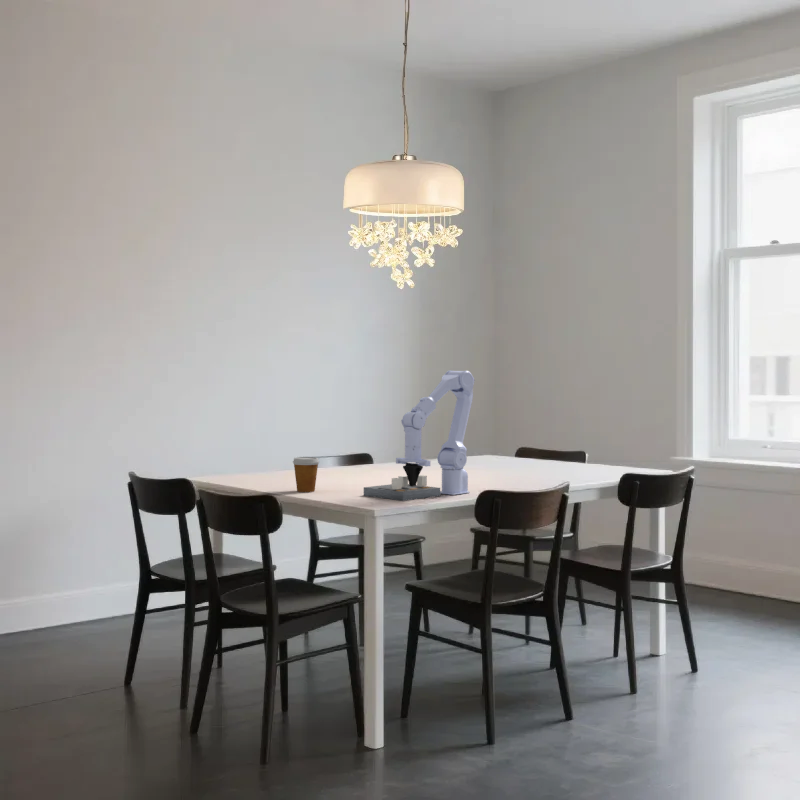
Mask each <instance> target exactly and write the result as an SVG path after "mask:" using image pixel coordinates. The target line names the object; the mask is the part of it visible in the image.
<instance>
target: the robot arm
mask: <svg viewBox="0 0 800 800" xmlns="http://www.w3.org/2000/svg"><path fill="white" fill-rule="evenodd" d="M475 381H476V380H475V378H474V376H473V374H472V373H471V371H469V370H450V369H449V370H447V371H446V372H445V373H444V374H442V376H441V380H440V382H438V384H437V386H436V387H435V388H434V389H433V390H432V392H431V393H430V394H429V396H423V397H421V398H420V399H419V401H418V403H417V404H416V405H415V406H413V407H412V408H411V410H410V411H407V412H406V413H405V414H404V415H403V416H402V419H401V421H400V422H401V424H402V426H403V432H404V457H396V458H395V464H401V465H402V468H403V471H404V472H405V474H406V476H407V477H408V484H409V485H410V486H416V485H417V480H418V476H419V475H421V472H422V470H423V468H424V467H431V462H432V461H431V460H429V459H424V458H423V459H422V436H423V435H422V429H423V427H424V426H425V425H426V422H427V421H426V420H427V418H428V417H429V416H430V415H431V414H432V413H433V412H434V411H435V410H436V409H437V403H438V402H439V401H440V400H441V399H442V398H443V397H444V396H445V395H446V394H447V393H448V392H449V391H451V393H452V394H453V395H455V397H456V402H455V406H454V411H453V414H452V415H453V416H452V419H451V424H450V428H449V434H448V437H447V441H445V442H444V443H443V444H442V445H441V449H440V450H439V452H438V454H437V459H436V460H437V463H438V465H440V469H441V490H440V495H441V494H443V495H450V496H454V495H463V494H470V491H469V489H468V488H469V486H468V485H469V484H468V483H469V475H468V472H467V470H466V469H464V467H465V466H466V465H467V457H468V456H467V451H468V449H467V447H466V446H465V445H464V441H465V440H464V439H465V436H466V435H465V434H466V430H467V427H468V426H467V425H468V421H469V417H470V412H471V407H472V404H473V399H474V384H475Z"/></svg>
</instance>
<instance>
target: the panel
mask: <svg viewBox="0 0 800 800" xmlns="http://www.w3.org/2000/svg"><path fill="white" fill-rule="evenodd" d="M440 491H441V487H437V486H436V487H435V486H428V485H427V486H417V484H416V486H410V485H409V483H408V486H407V487H401V489H392V483H391V484H381V485H374V486H365V487H363V496H364V497H371V498H379V499H380V498H381V499H386V500H394V501H395V500H396V501H402V502H405V501H412V500H420V499H428V498H436V497H437V498H438V497H441V493H440Z"/></svg>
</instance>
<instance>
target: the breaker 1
mask: <svg viewBox="0 0 800 800" xmlns="http://www.w3.org/2000/svg"><path fill="white" fill-rule="evenodd" d="M401 482H402V478H398V477H393V478H391V484H392V489H401Z"/></svg>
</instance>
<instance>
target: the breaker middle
mask: <svg viewBox="0 0 800 800" xmlns="http://www.w3.org/2000/svg"><path fill="white" fill-rule="evenodd" d="M397 478H402V482H401V487H407V486H408V484H409V481H408V477H407V475H399V476H398V477H397Z"/></svg>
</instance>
